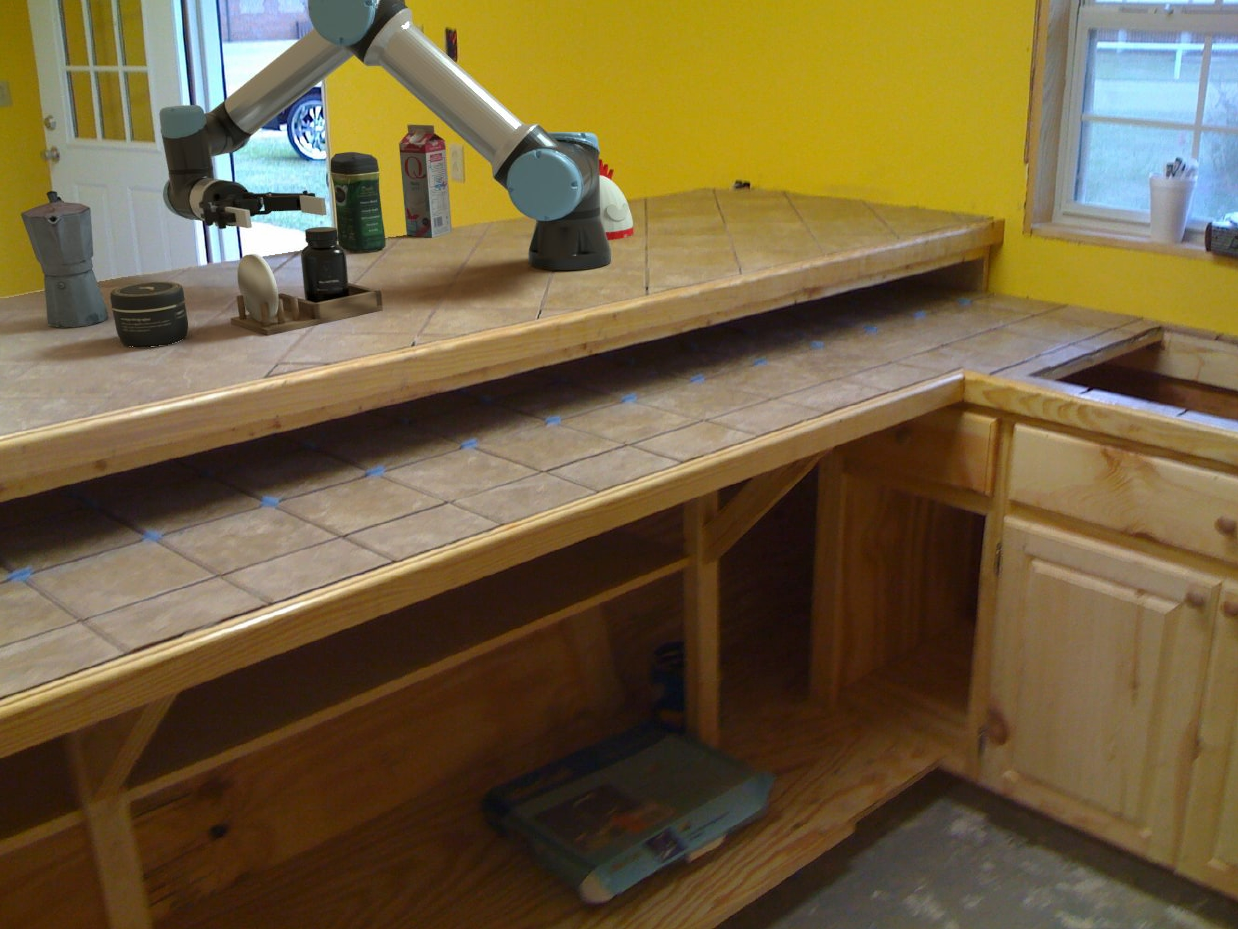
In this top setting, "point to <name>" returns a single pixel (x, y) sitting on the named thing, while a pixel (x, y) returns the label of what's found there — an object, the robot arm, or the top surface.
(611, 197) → the kitchen timer
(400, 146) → the juice carton
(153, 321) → the jar
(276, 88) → the robot arm
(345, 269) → the supplement bottle
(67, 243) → the moka pot
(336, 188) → the coffee jar
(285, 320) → the dish rack
